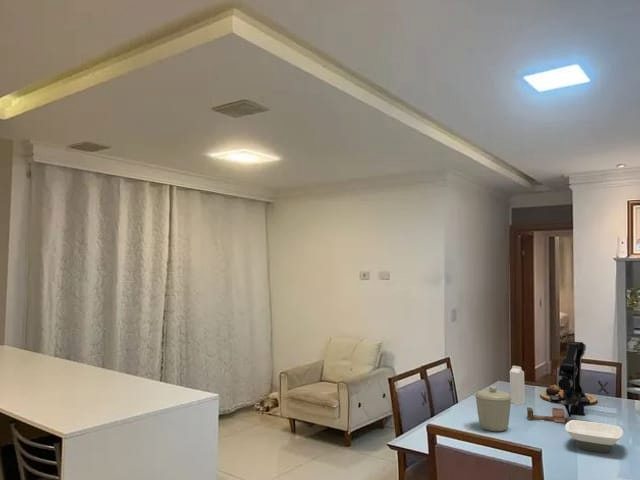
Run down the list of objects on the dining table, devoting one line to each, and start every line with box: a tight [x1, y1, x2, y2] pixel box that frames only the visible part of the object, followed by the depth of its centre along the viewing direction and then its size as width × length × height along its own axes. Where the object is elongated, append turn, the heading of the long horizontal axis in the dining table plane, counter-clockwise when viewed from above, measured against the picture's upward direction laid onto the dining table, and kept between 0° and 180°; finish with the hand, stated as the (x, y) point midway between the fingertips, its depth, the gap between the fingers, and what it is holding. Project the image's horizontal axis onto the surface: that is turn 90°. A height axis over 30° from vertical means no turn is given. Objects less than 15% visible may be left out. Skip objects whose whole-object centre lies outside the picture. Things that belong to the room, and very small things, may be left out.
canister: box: [473, 385, 512, 432], centre depth 254 cm, size 18×18×21 cm
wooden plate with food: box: [539, 384, 598, 406], centre depth 313 cm, size 32×32×8 cm
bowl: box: [564, 419, 624, 454], centre depth 226 cm, size 22×23×8 cm
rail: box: [526, 406, 571, 424], centre depth 268 cm, size 20×7×5 cm, turn 73°
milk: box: [509, 365, 526, 406], centre depth 303 cm, size 6×6×22 cm
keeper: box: [551, 407, 566, 424], centre depth 267 cm, size 5×7×6 cm
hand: (569, 416), depth 265 cm, fingers closed
